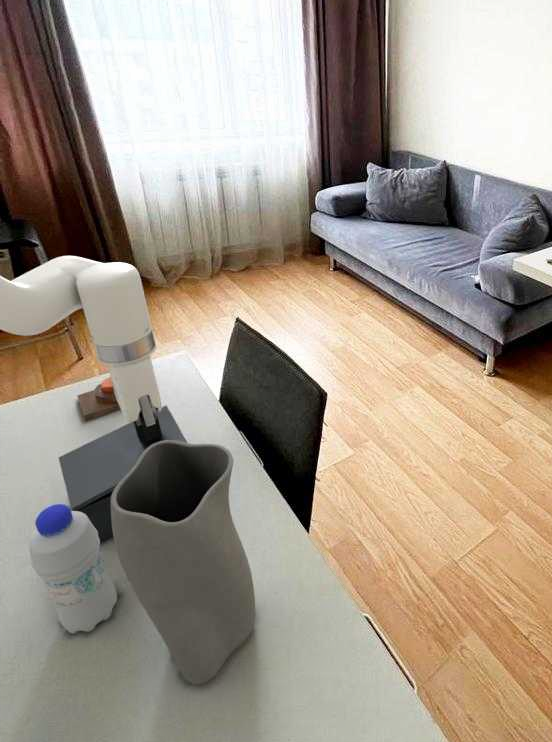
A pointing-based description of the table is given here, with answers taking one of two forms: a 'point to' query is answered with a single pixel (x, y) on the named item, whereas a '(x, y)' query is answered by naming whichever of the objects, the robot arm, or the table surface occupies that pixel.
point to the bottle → (72, 567)
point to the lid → (109, 460)
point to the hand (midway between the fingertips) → (150, 437)
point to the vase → (185, 553)
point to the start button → (107, 386)
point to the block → (97, 403)
